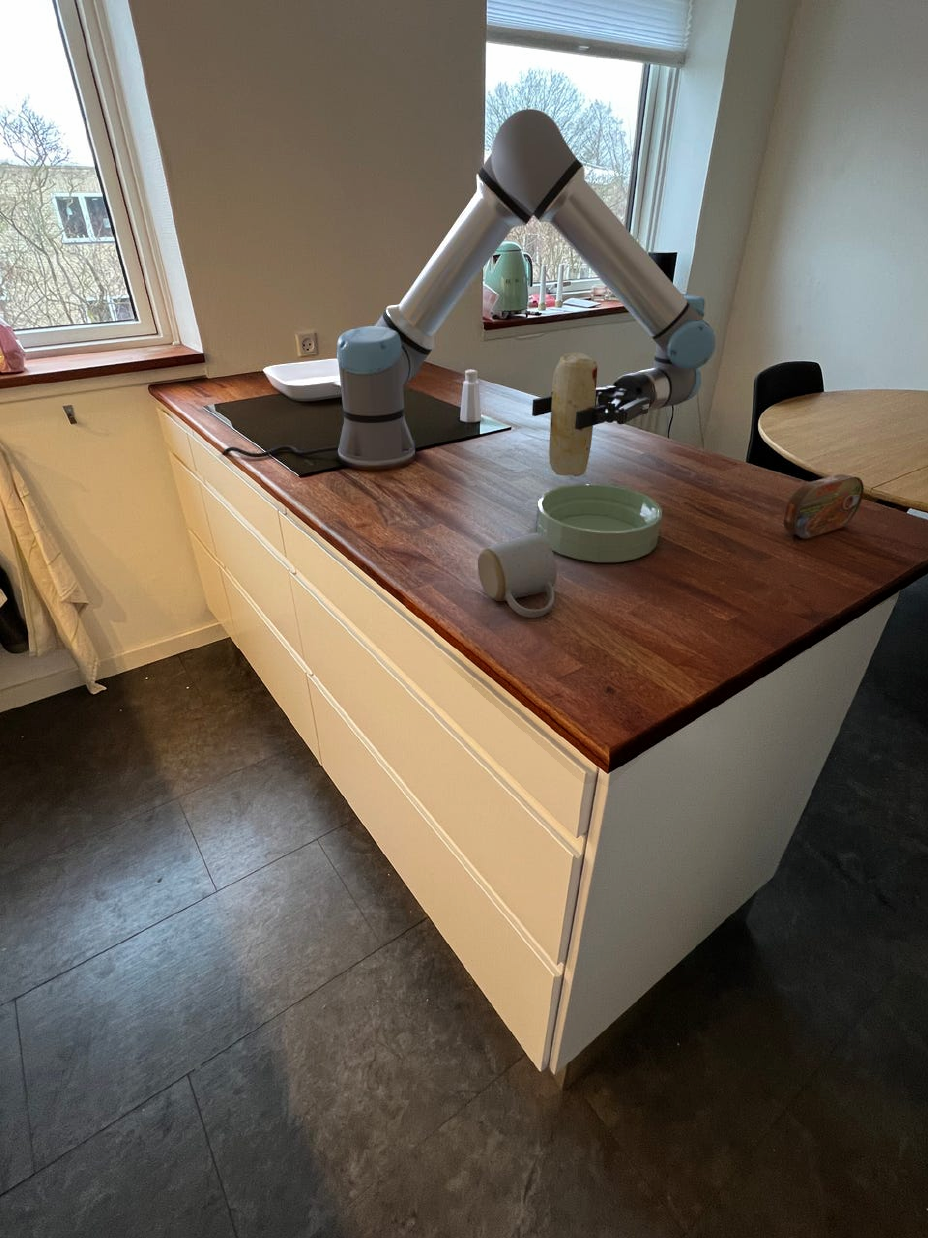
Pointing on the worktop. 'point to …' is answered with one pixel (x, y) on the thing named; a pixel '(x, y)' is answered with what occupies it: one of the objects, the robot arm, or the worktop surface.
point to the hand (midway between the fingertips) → (555, 414)
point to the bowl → (598, 522)
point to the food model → (571, 413)
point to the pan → (306, 379)
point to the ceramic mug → (519, 571)
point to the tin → (823, 505)
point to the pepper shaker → (470, 398)
